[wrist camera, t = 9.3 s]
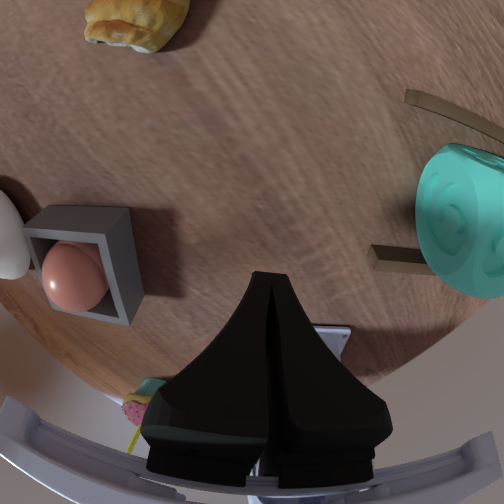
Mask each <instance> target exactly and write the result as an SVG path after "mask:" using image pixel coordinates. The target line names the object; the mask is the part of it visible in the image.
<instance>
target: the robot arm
mask: <svg viewBox="0 0 504 504" xmlns="http://www.w3.org/2000/svg"><path fill="white" fill-rule="evenodd" d="M350 334H351V329H350V328H349V327H333V326H313V325H312V323H311V322H310V320H309V318H308V317H307V315H306V313H305V311H304V310H303V308H302V306H301V304H300V302H299V300H298V298H297V296H296V294H295V292H294V290H293V287H292V285H291V283H290V280H289V277H288V276H287V275H286V274H279V273H269V272H259V271H255V272H253V273H252V277H251V280H250V283H249V286H248V288H247V290H246V292H245V294H244V296H243V298H242V300H241V302H240V303H239V305H238V307H237V308H236V310H235V311H234V313H233V315H232V316H231V318H230V319H229V321H228V322H227V323H226V325H225V326H224V327H223V329H222V330H221V331H220V332H219V334H218V335H217V336H216V337H215V339H214V340H213V341H212V342H211V343H210V344H209V345H208V346H207V347H206V348H205V349H204V350H203V352H202V353H201V354H200V355H198V356H197V357H196V358H195V359H194V360H193V361H192V362H191V363H190V364H189V365H187V366H186V367H185V368H184V369H183V370H182V371H181V372H179V373H178V374H177V375H175V376H174V377H173V378H171V379H170V380H169V381H167V382H166V383H165V384H163V385H162V386H160V387H159V388H158V389H157V390H156V392H155V394H154V395H153V397H152V398H151V400H150V402H149V404H148V406H147V409H146V411H145V413H144V416H143V420H142V423H141V427H140V433H141V435H142V436H143V437H144V439H145V440H146V442H147V443H148V444H149V445H150V451H149V455H148V459H145V458H142V457H138V456H134V455H131V454H128V453H124V452H121V451H118V450H115V449H112V448H109V447H106V446H103V445H101V444H98V443H95V442H92V441H90V440H87V439H85V438H82V437H80V436H78V435H75V434H73V433H71V432H68V431H66V430H64V429H62V428H60V427H57V426H55V425H53V424H51V423H49V422H47V421H45V420H43V419H41V418H40V417H39V415H38V414H37V413H35V412H34V411H33V410H32V409H30V408H29V407H27V406H26V405H24V404H23V403H21V402H19V401H17V400H16V399H14V398H12V397H11V396H7V398H6V400H5V402H4V404H3V406H2V408H1V411H0V455H1V456H2V457H3V458H5V459H6V460H7V461H9V462H10V463H11V464H13V465H14V466H16V467H17V468H18V469H20V470H21V471H23V472H24V473H26V474H27V475H29V476H30V477H32V478H33V479H35V480H36V481H38V482H39V483H41V484H43V485H44V486H46V487H47V488H49V489H51V490H52V491H54V492H56V493H58V494H59V495H61V496H63V497H65V498H67V499H69V500H70V501H73V502H75V503H76V504H203V503H197V502H190V501H185V499H186V497H185V496H184V495H183V494H180V493H177V491H176V489H175V488H171V487H168V486H165V485H161V484H158V483H154V482H151V481H149V480H145V479H142V478H140V477H143V478H146V479H150V480H154V481H158V482H162V483H166V484H171V485H175V486H181V487H186V488H191V489H197V490H204V491H210V492H218V493H227V494H237V495H247V496H248V502H249V504H458V503H460V502H461V501H463V500H465V499H467V498H469V497H471V496H472V495H474V494H476V493H478V492H479V491H481V490H483V489H485V488H486V487H488V486H490V485H491V484H493V483H495V482H496V481H498V480H500V479H501V478H502V477H503V474H502V469H501V464H500V460H499V455H498V451H497V448H496V444H495V440H494V437H493V433H492V431H490V432H488V433H485V434H482V435H480V436H478V437H475V438H473V439H472V440H470V441H468V442H467V443H465V444H464V445H462V446H461V447H459V448H457V449H454V450H451V451H448V452H445V453H442V454H438V455H435V456H432V457H428V458H425V459H421V460H418V461H414V462H409V463H405V464H401V465H396V466H392V467H387V468H381V469H375V470H374V457H375V451H374V448H375V447H376V446H377V445H379V444H380V443H381V442H383V441H384V440H385V439H386V438H388V436H390V434H391V433H392V430H393V427H392V422H391V417H390V414H389V410H388V408H387V405H386V402H385V401H383V400H382V399H381V398H379V397H378V396H377V395H376V394H374V393H373V392H372V391H370V390H369V389H368V388H367V387H366V386H364V385H363V384H362V383H361V382H360V381H359V380H358V379H357V378H356V377H354V376H353V375H352V374H351V373H350V372H349V370H348V369H347V368H346V367H345V366H344V365H343V364H342V363H341V358H340V355H341V353H342V351H343V348H344V346H345V344H346V342H347V340H348V338H349V336H350Z"/></svg>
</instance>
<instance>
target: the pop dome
mask: <svg viewBox="0 0 504 504" xmlns="http://www.w3.org/2000/svg"><path fill="white" fill-rule="evenodd" d="M42 282H43V286H44V289H45V291H46V293H47V295H48V297H49V298H50V299H51V300H52V302H53V303H55V304H56V305H57V306H58V307H60V308H62V309H64V310H66V311H70V312H83V311H87V310H89V309H91V308H93V307H94V306H96V305H97V304H98V303H99V302H100V301H101V300H102V298H103V297H104V295H105V294H106V292H107V290H108V289H109V284H108V281H107V277H106V274H105V270H104V266H103V263H102V259H101V255H100V251H99V247H98V244H97V243H87V242H76V241H66V240H59V241H58V242H57V243H56V244H55V245H54V246H53V247H52V248H51V249H50V250H49V252H48V253H47V255H46V257H45V259H44V262H43V266H42Z"/></svg>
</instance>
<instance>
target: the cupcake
mask: <svg viewBox="0 0 504 504" xmlns="http://www.w3.org/2000/svg"><path fill="white" fill-rule="evenodd" d="M166 382H167V381H164V380H162V379H158V378H147V379H145V380H144V382H143V383H142V384H141V386H140V387H139V388H138V389H137V391H136V392H135V393H130V394H128V395H127V396H126V397H125V398H124V401H123V407H122V408H123V409H122V410H123V411H124V412H125V415H126V416H127V418H128V419H129V420H130V421H131V422H132V423H134V424H135V425H136V426H138V427H137V429H136V431H135V433H134V435H133V438H132V440H131V442H130V444H129V446H128V448H127V450H126V452H127V453H129V454H131V452H132V450H133V448H134V445H135V443H136V441H137V439H138V437H139V435H140V427H141V423H142V420H143V416H144V413H145V411H146V409H147V406H148V404H149V402H150V400H151V398H152V397H153V395H154V394H155V392H156V390H157V389H158V388H159V387H160V386H162V385H163V384H165V383H166Z"/></svg>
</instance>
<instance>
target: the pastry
mask: <svg viewBox="0 0 504 504" xmlns="http://www.w3.org/2000/svg"><path fill="white" fill-rule="evenodd" d="M190 1H191V0H93V1H92V2H91V3H89V4H88V6H87V7H86V10H85V18H86V20H87V26H86V28H85V33H84V35H85V39H86V40H87V41H89V42H91V43H95V44H98V43H107V44H108V45H111V46H131V47H132V48H133V49H135V50H136V51H138V52H143V53H147V54H148V53H153V52H157V51H158V50H159V49H161V48H162V47H163V46H164V45H165V44H166V43H167V42H168V41H169V40H170V39H171V37H172V36H173V35H174V34H175V33H176V31H177V30H178V29H179V28H180V27H181V25H182V24H183V22H184V20H185V17H186V15H187V13H188V11H189V5H190Z"/></svg>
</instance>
